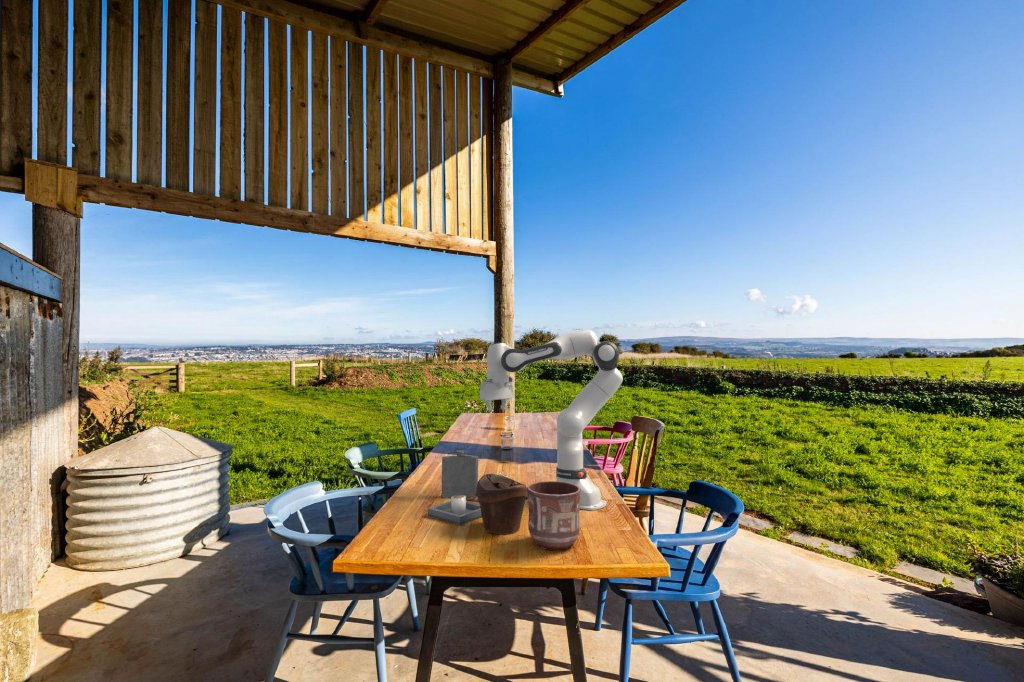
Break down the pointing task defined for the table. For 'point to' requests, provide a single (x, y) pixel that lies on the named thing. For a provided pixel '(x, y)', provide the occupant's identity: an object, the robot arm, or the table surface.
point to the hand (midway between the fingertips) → (496, 409)
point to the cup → (458, 504)
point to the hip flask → (459, 475)
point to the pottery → (554, 514)
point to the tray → (445, 514)
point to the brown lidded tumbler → (501, 503)
